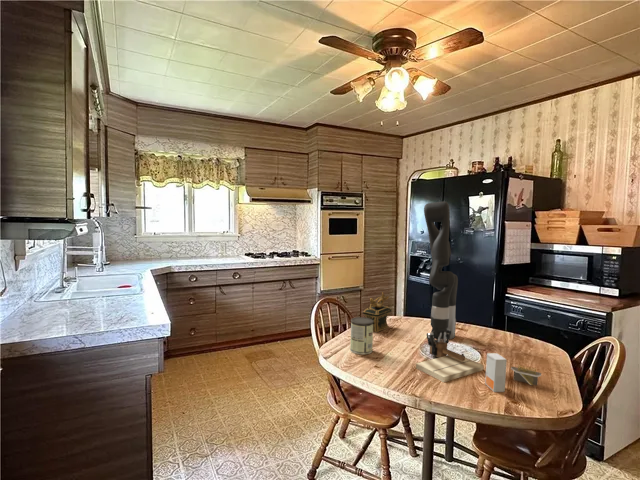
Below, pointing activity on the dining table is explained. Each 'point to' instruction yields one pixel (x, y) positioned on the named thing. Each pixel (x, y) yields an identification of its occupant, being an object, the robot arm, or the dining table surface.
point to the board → (448, 368)
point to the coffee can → (361, 335)
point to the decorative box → (378, 313)
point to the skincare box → (495, 372)
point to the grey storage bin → (526, 375)
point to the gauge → (446, 351)
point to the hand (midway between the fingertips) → (438, 354)
